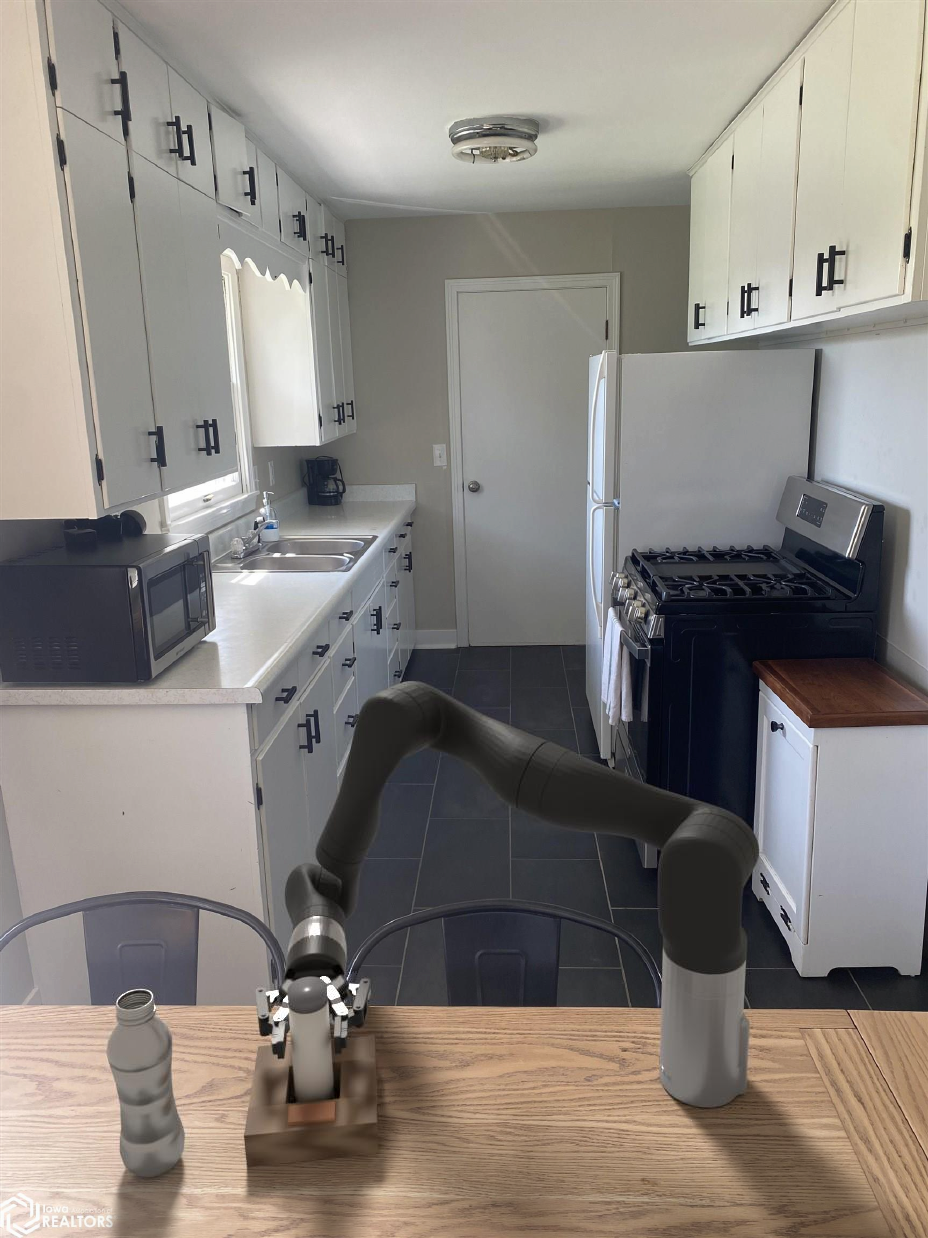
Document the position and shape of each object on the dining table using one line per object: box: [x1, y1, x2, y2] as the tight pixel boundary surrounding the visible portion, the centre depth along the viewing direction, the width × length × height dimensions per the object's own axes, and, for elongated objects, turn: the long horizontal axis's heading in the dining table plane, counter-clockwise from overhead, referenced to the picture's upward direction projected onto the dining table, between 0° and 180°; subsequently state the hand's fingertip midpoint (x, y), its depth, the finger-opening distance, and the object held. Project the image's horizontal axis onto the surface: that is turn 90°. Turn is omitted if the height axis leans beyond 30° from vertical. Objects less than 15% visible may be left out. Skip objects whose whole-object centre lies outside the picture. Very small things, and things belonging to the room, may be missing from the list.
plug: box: [287, 977, 336, 1103], centre depth 105 cm, size 4×4×16 cm
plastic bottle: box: [105, 988, 186, 1178], centre depth 98 cm, size 6×7×20 cm
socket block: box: [243, 1035, 379, 1168], centre depth 106 cm, size 14×14×4 cm
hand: (309, 1049), depth 102 cm, fingers open, 5 cm apart
